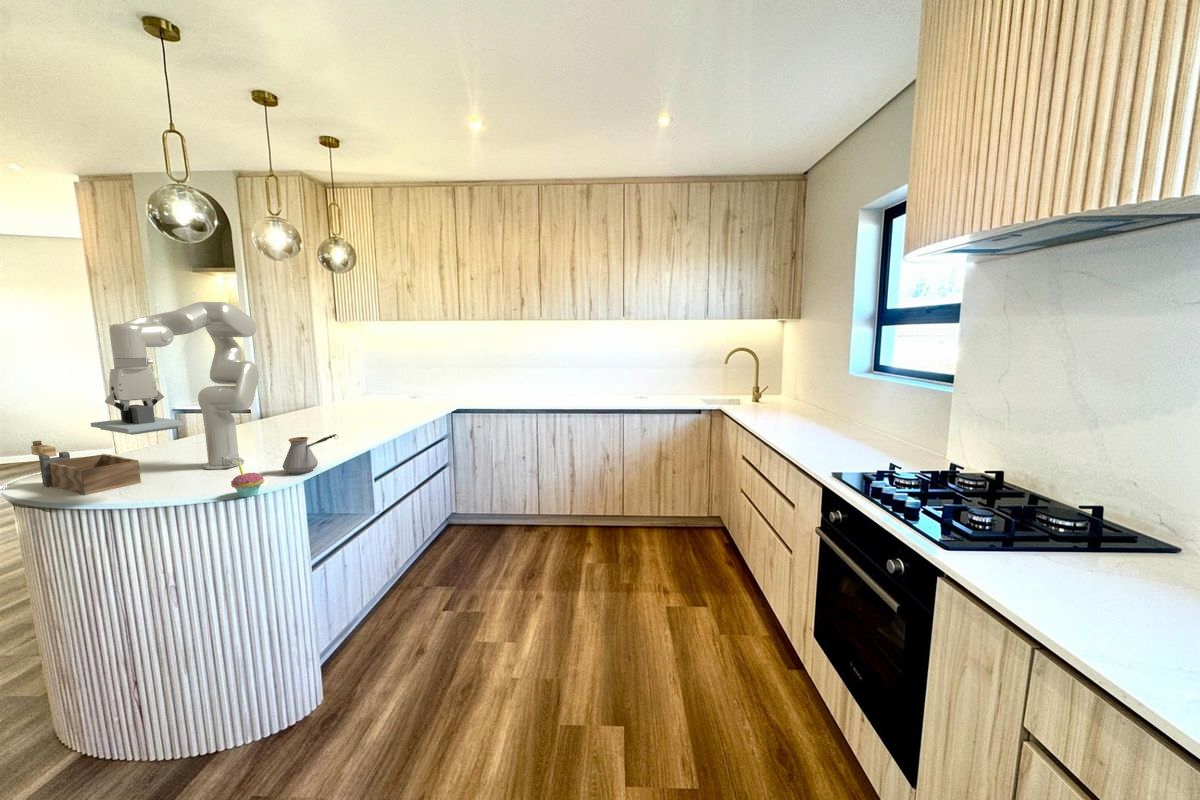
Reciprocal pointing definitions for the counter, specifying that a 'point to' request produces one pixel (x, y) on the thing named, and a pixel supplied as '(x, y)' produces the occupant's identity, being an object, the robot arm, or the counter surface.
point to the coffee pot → (301, 456)
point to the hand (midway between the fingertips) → (138, 421)
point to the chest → (89, 472)
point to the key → (42, 449)
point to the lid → (139, 422)
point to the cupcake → (247, 483)
